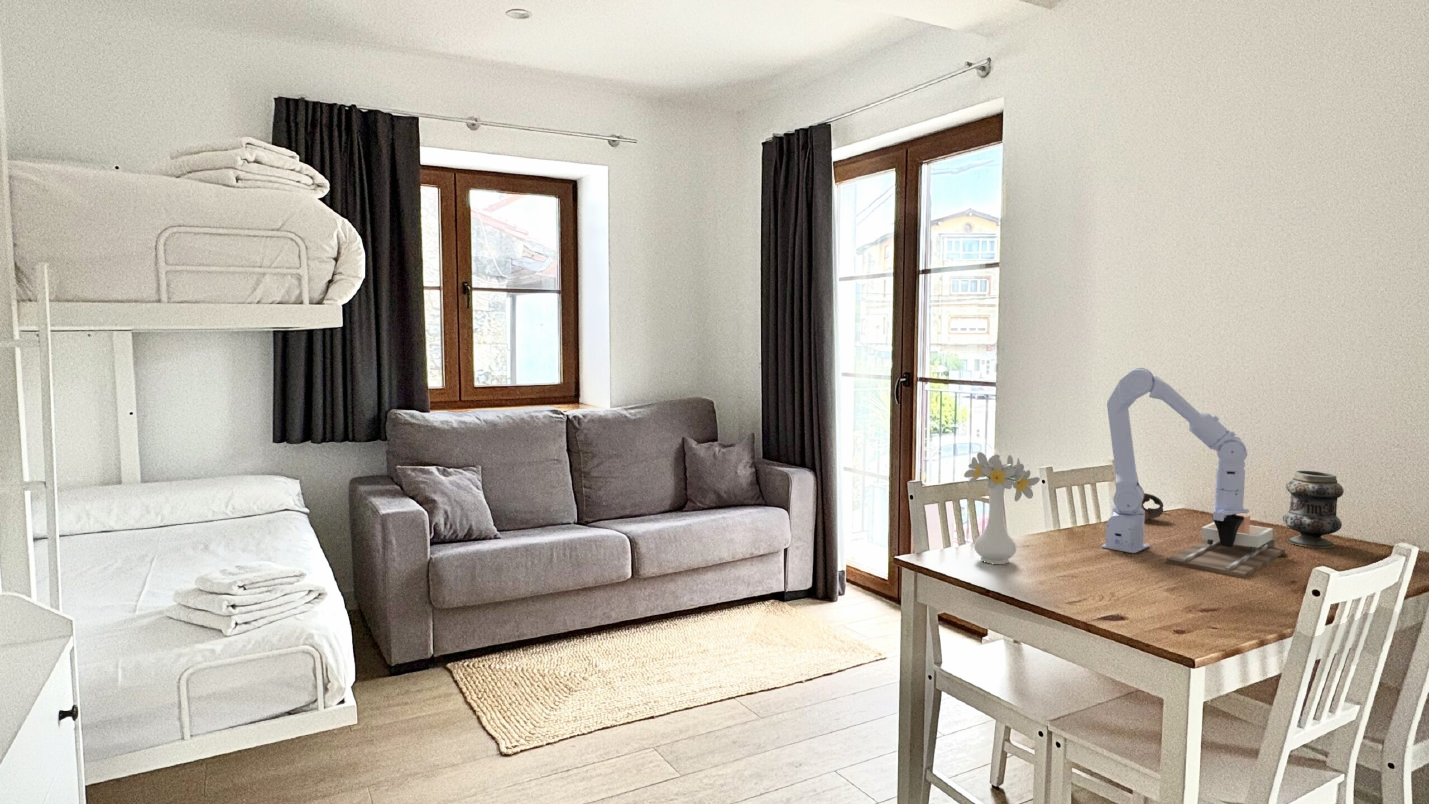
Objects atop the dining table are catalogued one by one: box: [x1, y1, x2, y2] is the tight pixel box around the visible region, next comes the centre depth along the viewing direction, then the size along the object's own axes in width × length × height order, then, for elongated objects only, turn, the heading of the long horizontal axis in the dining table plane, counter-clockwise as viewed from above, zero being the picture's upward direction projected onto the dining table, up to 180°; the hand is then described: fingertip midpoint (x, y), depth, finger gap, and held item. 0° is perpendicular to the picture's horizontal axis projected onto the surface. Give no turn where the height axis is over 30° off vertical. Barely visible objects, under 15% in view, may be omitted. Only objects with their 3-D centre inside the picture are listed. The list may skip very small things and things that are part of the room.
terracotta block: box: [1236, 513, 1251, 534], centre depth 204 cm, size 4×4×5 cm
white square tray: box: [1200, 521, 1274, 552], centre depth 204 cm, size 11×12×4 cm
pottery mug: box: [1141, 492, 1164, 523], centre depth 239 cm, size 12×10×8 cm
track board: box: [1165, 538, 1286, 579], centre depth 200 cm, size 30×16×3 cm, turn 132°
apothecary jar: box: [1282, 469, 1345, 549], centre depth 211 cm, size 12×12×18 cm
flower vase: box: [963, 451, 1041, 565], centre depth 196 cm, size 13×18×25 cm
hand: (1226, 546), depth 199 cm, fingers closed
